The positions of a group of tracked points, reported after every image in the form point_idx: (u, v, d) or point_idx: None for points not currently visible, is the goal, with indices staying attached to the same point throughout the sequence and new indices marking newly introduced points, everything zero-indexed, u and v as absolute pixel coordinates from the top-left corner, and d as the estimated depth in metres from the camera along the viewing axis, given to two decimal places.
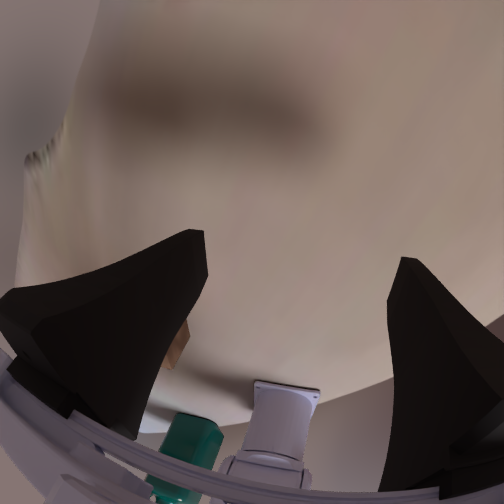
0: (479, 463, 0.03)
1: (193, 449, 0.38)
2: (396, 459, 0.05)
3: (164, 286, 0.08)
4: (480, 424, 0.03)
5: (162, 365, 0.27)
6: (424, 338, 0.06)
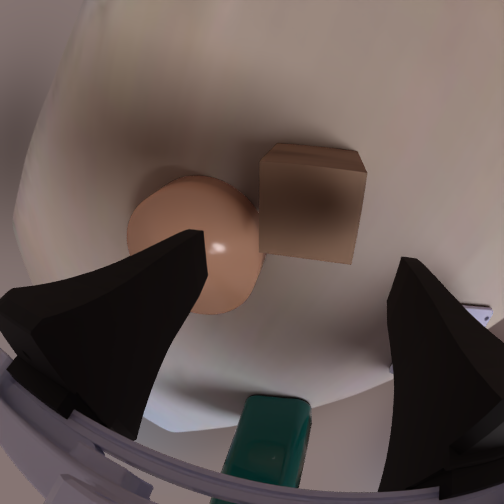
0: (480, 462, 0.03)
1: (287, 445, 0.25)
2: (395, 459, 0.05)
3: (164, 286, 0.08)
4: (481, 423, 0.03)
5: (333, 256, 0.15)
6: (424, 338, 0.06)
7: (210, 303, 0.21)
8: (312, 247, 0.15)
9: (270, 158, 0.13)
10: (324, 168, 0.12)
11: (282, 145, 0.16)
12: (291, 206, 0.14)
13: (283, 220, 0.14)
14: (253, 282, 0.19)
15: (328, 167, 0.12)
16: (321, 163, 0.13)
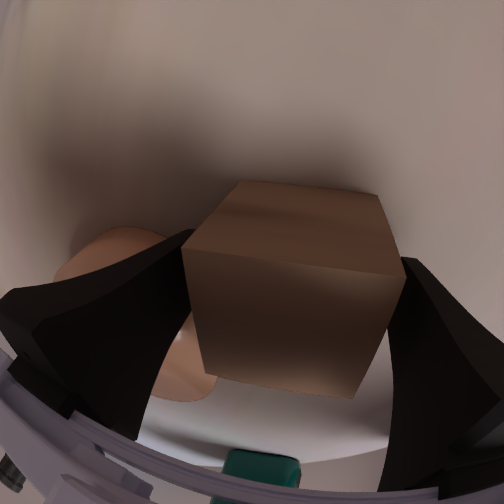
0: (479, 462, 0.03)
1: None
2: (395, 459, 0.05)
3: (165, 286, 0.08)
4: (480, 424, 0.03)
5: (324, 390, 0.08)
6: (423, 338, 0.06)
7: (164, 390, 0.15)
8: (289, 379, 0.08)
9: (207, 234, 0.07)
10: (316, 269, 0.06)
11: (247, 187, 0.10)
12: (250, 326, 0.07)
13: (238, 343, 0.08)
14: (212, 383, 0.12)
15: (325, 264, 0.06)
16: (311, 248, 0.06)
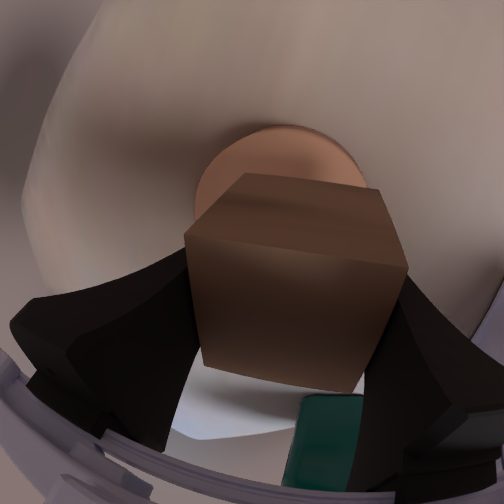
0: (439, 470, 0.03)
1: None
2: (361, 459, 0.05)
3: None
4: (432, 429, 0.03)
5: (324, 384, 0.08)
6: (389, 335, 0.06)
7: None
8: (289, 372, 0.08)
9: (210, 222, 0.07)
10: (319, 257, 0.06)
11: (250, 179, 0.10)
12: (251, 316, 0.07)
13: (238, 333, 0.08)
14: None
15: (328, 252, 0.06)
16: (313, 237, 0.06)
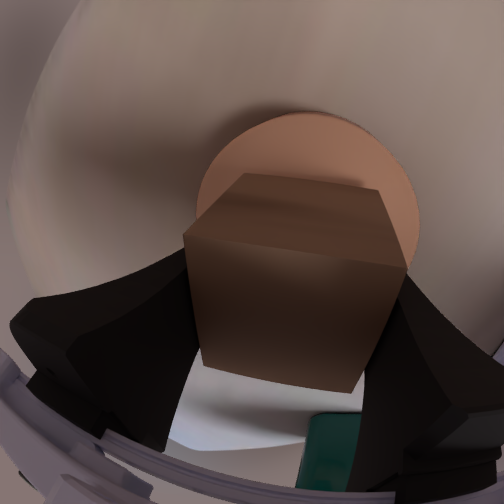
0: (440, 470, 0.03)
1: None
2: (360, 459, 0.05)
3: None
4: (432, 429, 0.03)
5: (324, 384, 0.08)
6: (389, 335, 0.06)
7: None
8: (288, 372, 0.08)
9: (210, 223, 0.07)
10: (318, 257, 0.06)
11: (249, 179, 0.10)
12: (251, 316, 0.07)
13: (238, 333, 0.08)
14: None
15: (327, 252, 0.06)
16: (313, 237, 0.06)
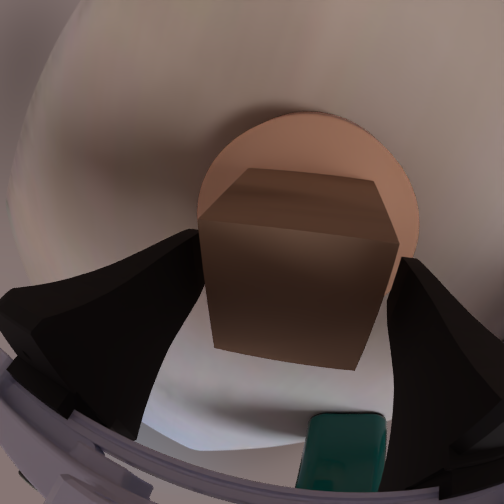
0: (480, 462, 0.03)
1: (371, 470, 0.18)
2: (395, 460, 0.05)
3: (164, 286, 0.08)
4: (480, 423, 0.03)
5: (328, 361, 0.09)
6: (424, 338, 0.06)
7: None
8: (295, 350, 0.09)
9: (221, 209, 0.08)
10: (319, 235, 0.07)
11: (254, 173, 0.11)
12: (259, 295, 0.08)
13: (247, 312, 0.08)
14: None
15: (327, 231, 0.07)
16: (314, 220, 0.07)
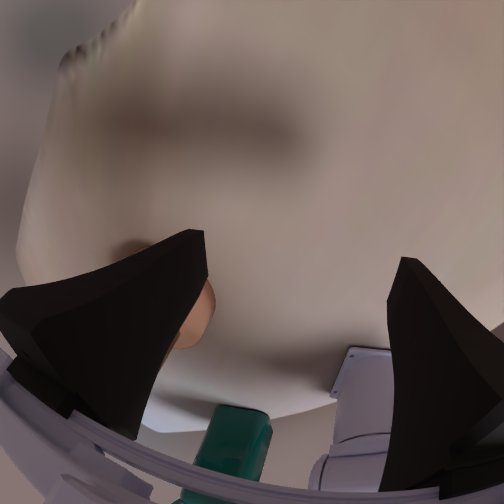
0: (480, 462, 0.03)
1: (245, 450, 0.31)
2: (395, 459, 0.05)
3: (164, 286, 0.08)
4: (480, 423, 0.03)
5: None
6: (424, 338, 0.06)
7: None
8: None
9: None
10: None
11: None
12: None
13: None
14: (201, 331, 0.24)
15: None
16: None
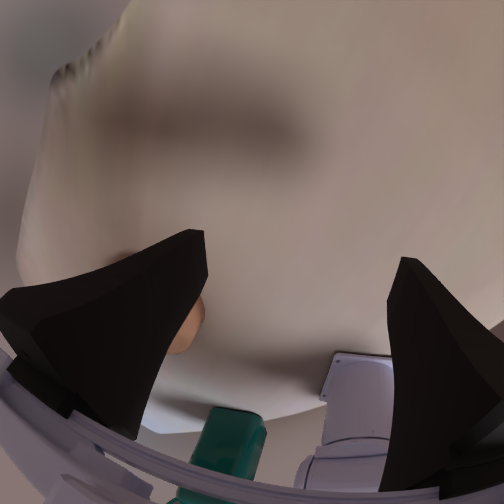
0: (480, 462, 0.03)
1: (238, 450, 0.31)
2: (395, 459, 0.05)
3: (164, 286, 0.08)
4: (480, 424, 0.03)
5: None
6: (424, 338, 0.06)
7: None
8: None
9: None
10: None
11: None
12: None
13: None
14: (191, 338, 0.25)
15: None
16: None
